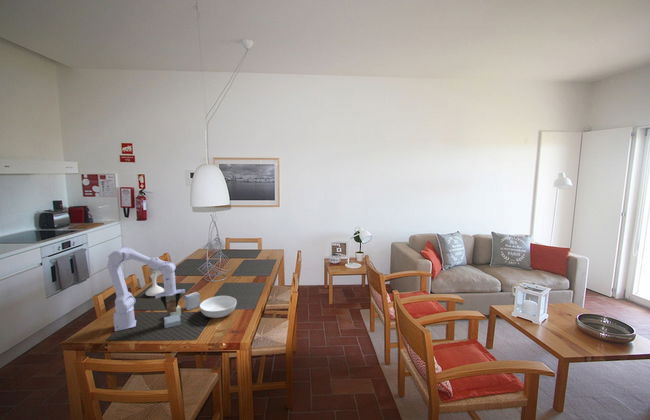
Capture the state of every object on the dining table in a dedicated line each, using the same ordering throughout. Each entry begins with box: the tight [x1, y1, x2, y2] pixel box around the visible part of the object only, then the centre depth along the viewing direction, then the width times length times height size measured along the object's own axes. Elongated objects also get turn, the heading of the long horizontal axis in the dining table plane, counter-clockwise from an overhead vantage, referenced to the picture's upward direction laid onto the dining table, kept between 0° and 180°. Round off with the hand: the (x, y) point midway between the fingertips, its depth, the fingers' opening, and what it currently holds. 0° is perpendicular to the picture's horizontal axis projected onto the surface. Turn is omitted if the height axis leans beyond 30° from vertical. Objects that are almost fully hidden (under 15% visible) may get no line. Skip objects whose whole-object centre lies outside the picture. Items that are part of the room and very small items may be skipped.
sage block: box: [169, 305, 182, 317], centre depth 176 cm, size 4×4×6 cm
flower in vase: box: [145, 258, 164, 297], centre depth 204 cm, size 13×11×25 cm
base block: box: [163, 314, 182, 329], centre depth 168 cm, size 8×8×3 cm
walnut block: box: [166, 298, 176, 314], centre depth 166 cm, size 4×4×6 cm
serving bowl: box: [199, 295, 237, 319], centre depth 179 cm, size 21×21×7 cm
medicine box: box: [183, 291, 201, 311], centre depth 186 cm, size 8×4×9 cm, turn 141°
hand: (171, 307), depth 167 cm, fingers closed on walnut block, 4 cm apart
